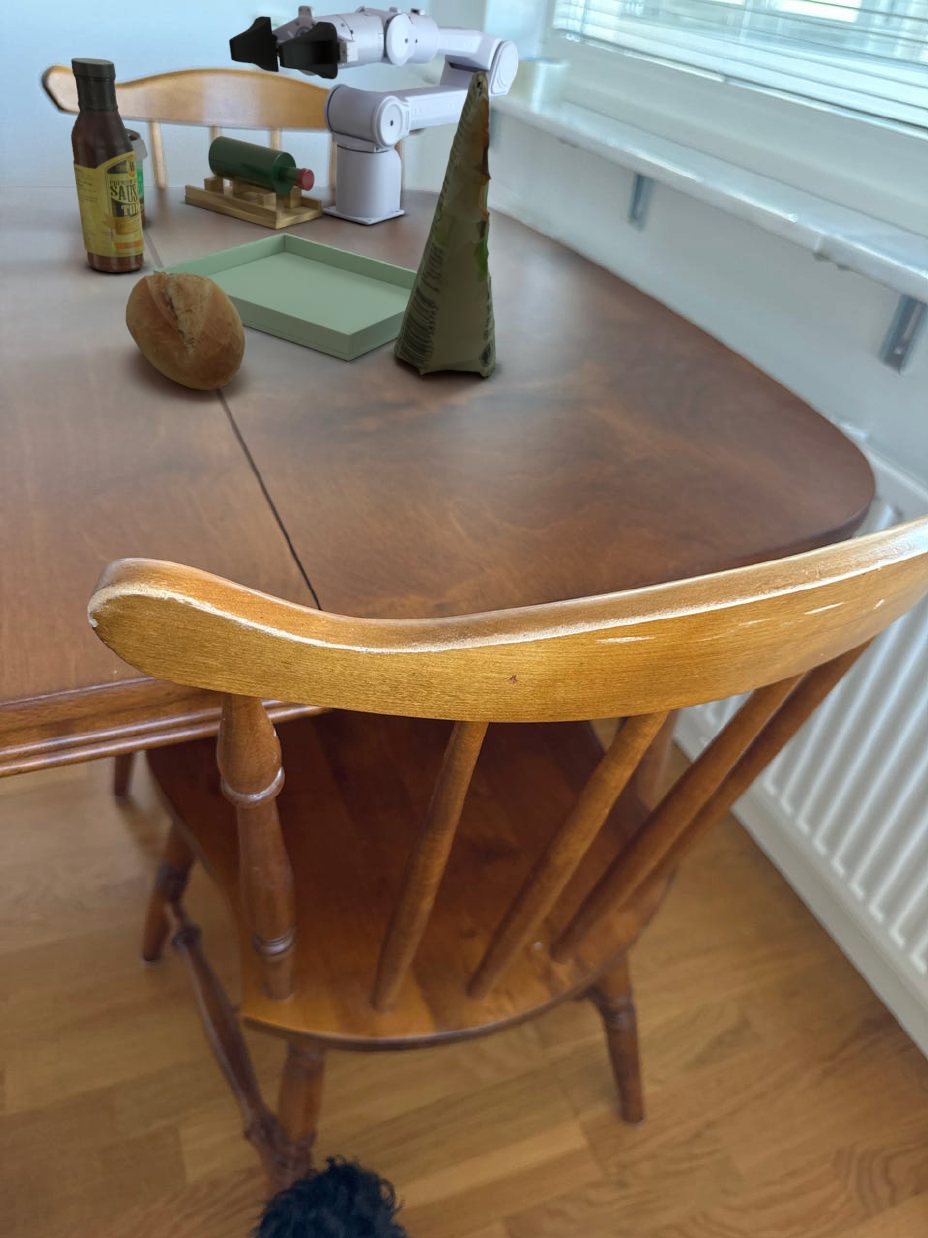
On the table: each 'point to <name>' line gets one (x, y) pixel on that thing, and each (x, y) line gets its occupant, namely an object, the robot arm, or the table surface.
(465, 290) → the olive green tall cone
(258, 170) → the bottle
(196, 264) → the tray
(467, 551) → the table surface
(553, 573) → the table surface
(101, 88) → the sauce bottle
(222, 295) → the bread roll
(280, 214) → the rack
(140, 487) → the table surface
